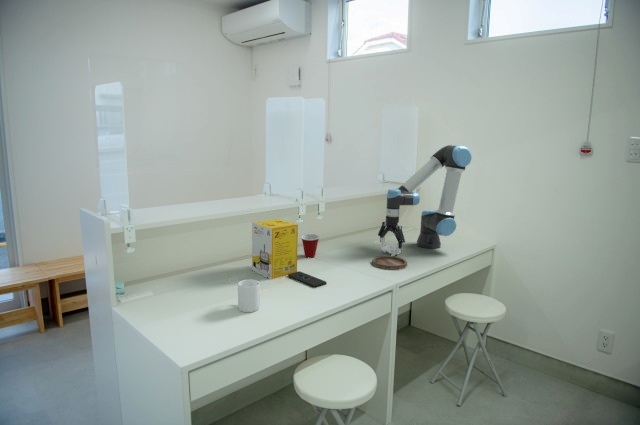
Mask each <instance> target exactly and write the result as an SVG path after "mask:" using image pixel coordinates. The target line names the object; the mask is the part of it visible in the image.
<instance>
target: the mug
mask: <svg viewBox="0 0 640 425" xmlns="http://www.w3.org/2000/svg"><path fill="white" fill-rule="evenodd" d="M237 306H238V307H237V308H238V310H239V311H240V312H243V313H255V312H257V311H259V309H260V306H261V282H260V281H259V280H257V279H243V280H241V281H239V282H237Z"/></svg>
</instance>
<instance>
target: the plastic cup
mask: <svg viewBox="0 0 640 425" xmlns="http://www.w3.org/2000/svg"><path fill="white" fill-rule="evenodd" d="M300 238H301V241H302V242H301V243H302V247H303V254H304V257H305V256H306V257H305V258H308V257H309V259H311V258H315V257H316V253H317V248H318V244H319V239H320V235H318V234H316V233H307V234H303V235H300ZM310 257H311V258H310Z"/></svg>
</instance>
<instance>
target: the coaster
mask: <svg viewBox="0 0 640 425" xmlns="http://www.w3.org/2000/svg"><path fill="white" fill-rule="evenodd" d="M371 263H372V265H373V266H374V267H377V268H379V269H381V270H382V269H384V270H389V271H390V270H391V271H393V270H396V271H399V270H403V269H406V268H407V267H408V261H407V260H406V259H404V258H403V257H399V256H391V255H379V256H374V257H373V258H372V260H371Z"/></svg>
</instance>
